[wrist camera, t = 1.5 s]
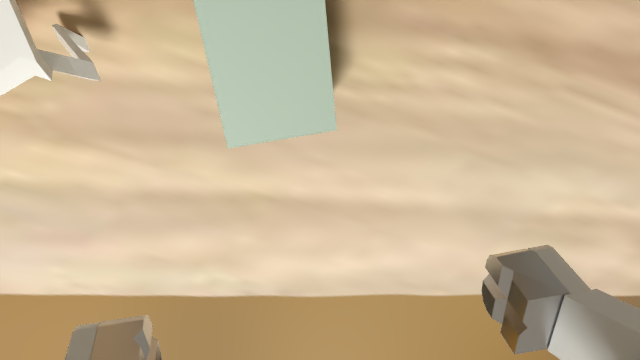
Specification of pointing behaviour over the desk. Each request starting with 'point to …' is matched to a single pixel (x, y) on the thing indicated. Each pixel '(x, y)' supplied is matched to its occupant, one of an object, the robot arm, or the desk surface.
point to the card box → (268, 67)
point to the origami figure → (37, 52)
